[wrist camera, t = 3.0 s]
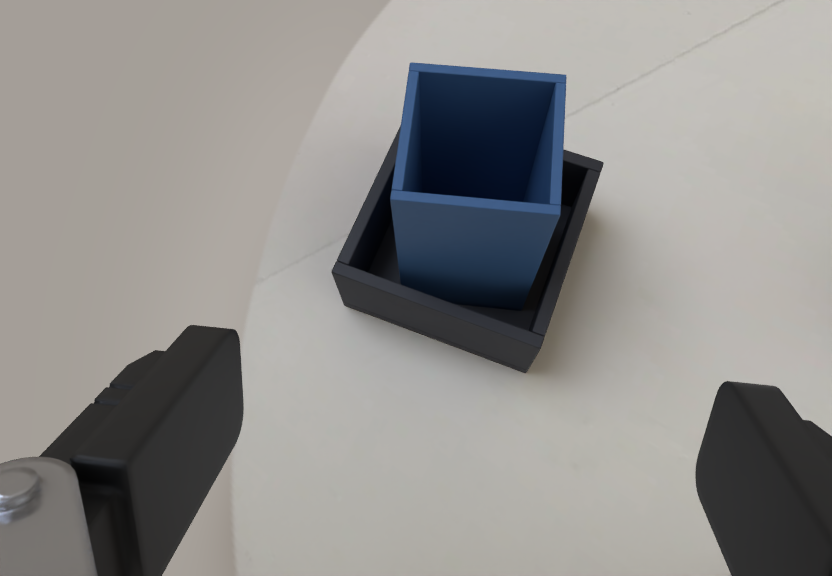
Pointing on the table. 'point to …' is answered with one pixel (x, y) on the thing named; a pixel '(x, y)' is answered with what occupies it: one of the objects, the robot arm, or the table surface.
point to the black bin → (444, 321)
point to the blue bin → (477, 181)
